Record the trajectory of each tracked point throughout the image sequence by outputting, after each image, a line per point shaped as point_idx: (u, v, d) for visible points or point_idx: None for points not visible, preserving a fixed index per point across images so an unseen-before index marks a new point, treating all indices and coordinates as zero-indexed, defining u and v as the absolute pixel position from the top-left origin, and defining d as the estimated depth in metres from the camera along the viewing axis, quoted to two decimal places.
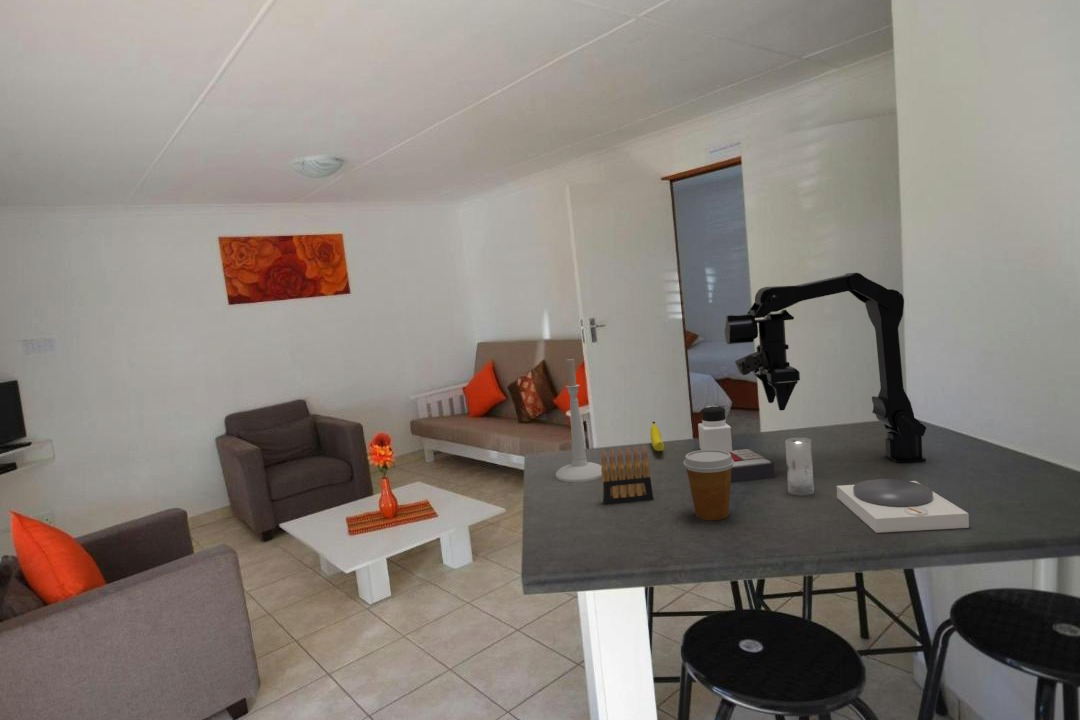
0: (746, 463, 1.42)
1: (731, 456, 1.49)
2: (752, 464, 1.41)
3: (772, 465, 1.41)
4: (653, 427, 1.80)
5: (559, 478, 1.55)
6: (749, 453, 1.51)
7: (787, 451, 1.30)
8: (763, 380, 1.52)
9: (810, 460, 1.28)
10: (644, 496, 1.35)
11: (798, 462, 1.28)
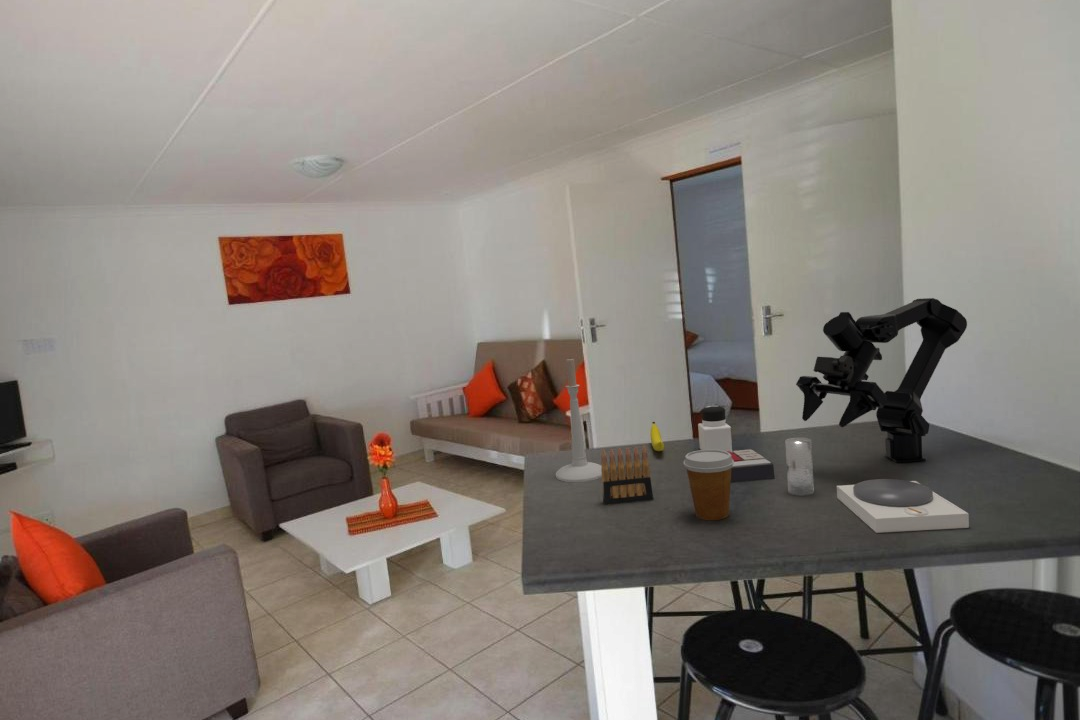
0: (745, 463, 1.42)
1: (732, 456, 1.49)
2: (751, 464, 1.41)
3: (772, 465, 1.41)
4: (653, 427, 1.80)
5: (559, 478, 1.55)
6: (751, 453, 1.50)
7: (787, 451, 1.30)
8: (810, 395, 1.38)
9: (810, 460, 1.28)
10: (644, 496, 1.35)
11: (798, 462, 1.28)
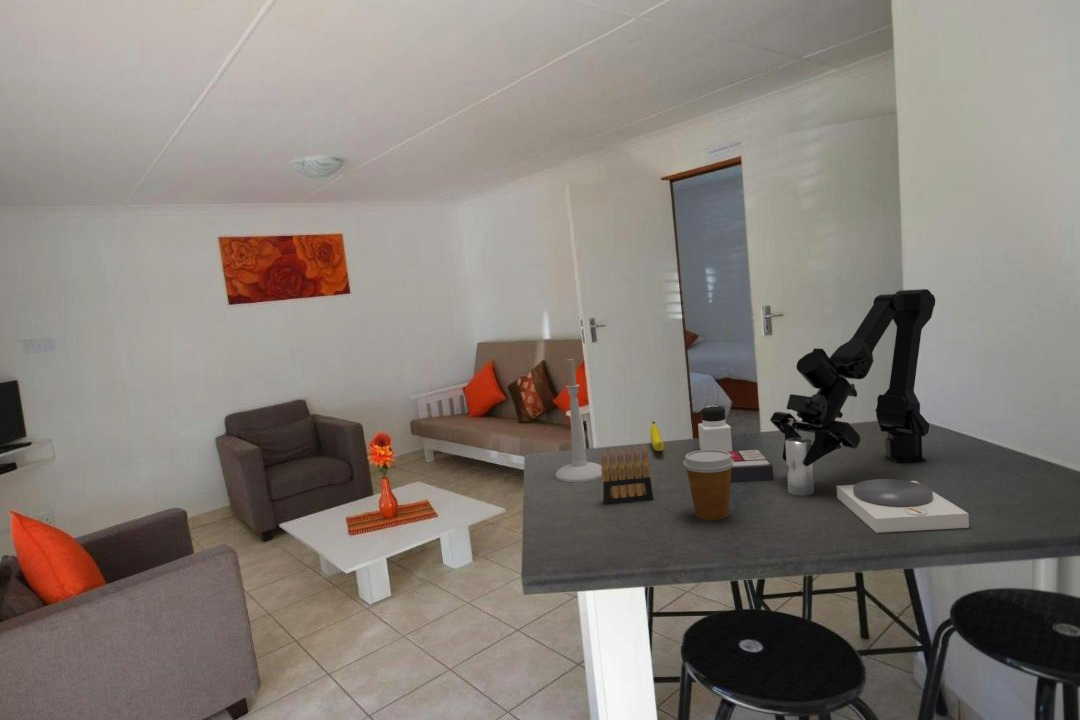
0: (744, 464, 1.42)
1: (735, 456, 1.49)
2: (750, 465, 1.41)
3: (771, 467, 1.40)
4: (653, 427, 1.80)
5: (559, 478, 1.55)
6: (755, 454, 1.49)
7: (787, 451, 1.30)
8: (791, 434, 1.33)
9: None
10: (644, 496, 1.35)
11: (798, 462, 1.28)
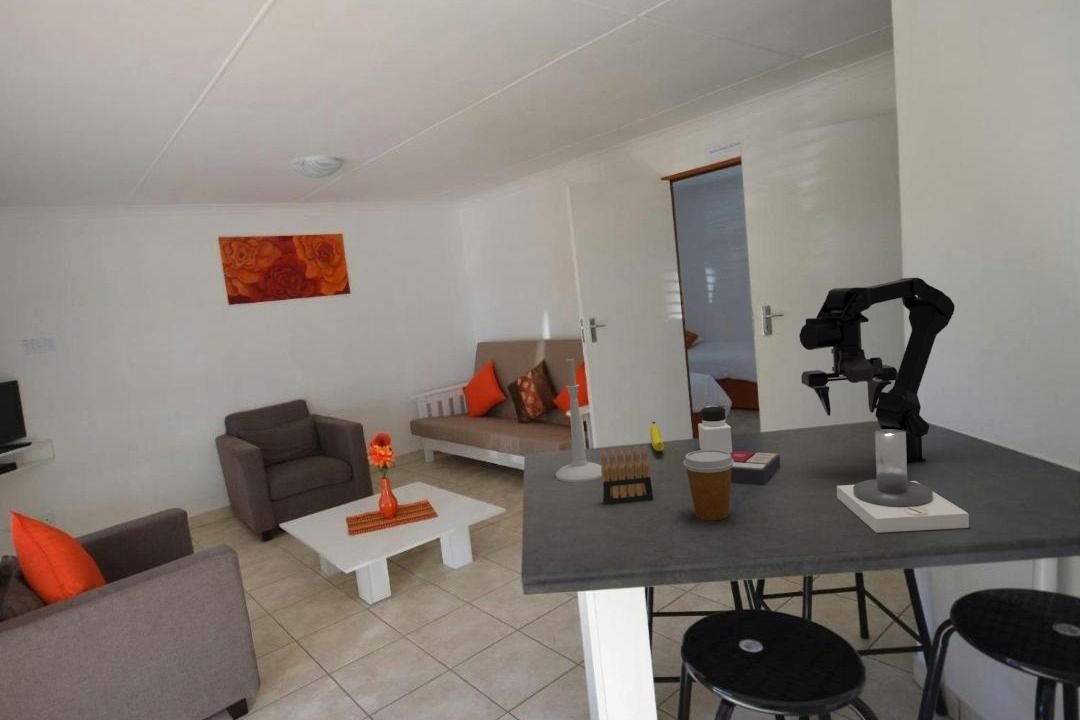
0: (738, 465, 1.41)
1: (743, 457, 1.48)
2: (742, 467, 1.40)
3: (761, 471, 1.37)
4: (653, 427, 1.80)
5: (559, 478, 1.55)
6: (766, 457, 1.46)
7: (884, 445, 1.15)
8: None
9: None
10: (644, 496, 1.35)
11: (899, 456, 1.14)
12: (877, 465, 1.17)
